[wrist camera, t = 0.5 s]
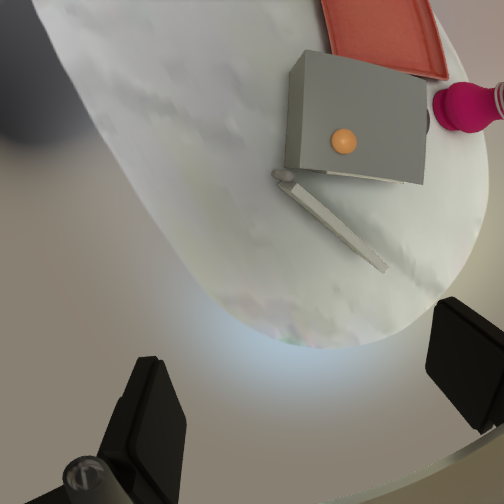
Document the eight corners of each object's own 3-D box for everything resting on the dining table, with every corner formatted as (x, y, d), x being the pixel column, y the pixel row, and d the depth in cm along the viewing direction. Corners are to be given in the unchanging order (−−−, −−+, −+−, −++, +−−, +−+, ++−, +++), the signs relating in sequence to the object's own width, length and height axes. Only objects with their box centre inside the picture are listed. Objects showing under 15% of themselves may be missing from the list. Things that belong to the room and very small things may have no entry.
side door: (275, 167, 35) (288, 168, 27) (363, 244, 38) (392, 263, 31) (267, 177, 35) (277, 181, 27) (356, 253, 38) (383, 273, 31)
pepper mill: (439, 138, 35) (550, 140, 16) (422, 90, 33) (530, 66, 14) (469, 128, 35) (571, 129, 16) (454, 83, 33) (554, 65, 13)
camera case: (289, 71, 32) (307, 46, 23) (400, 94, 33) (438, 82, 25) (284, 169, 35) (301, 170, 27) (396, 182, 36) (435, 189, 28)
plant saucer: (411, -13, 28) (421, -21, 25) (438, 85, 33) (451, 81, 30) (303, -32, 27) (308, -44, 24) (326, 74, 32) (334, 67, 29)
